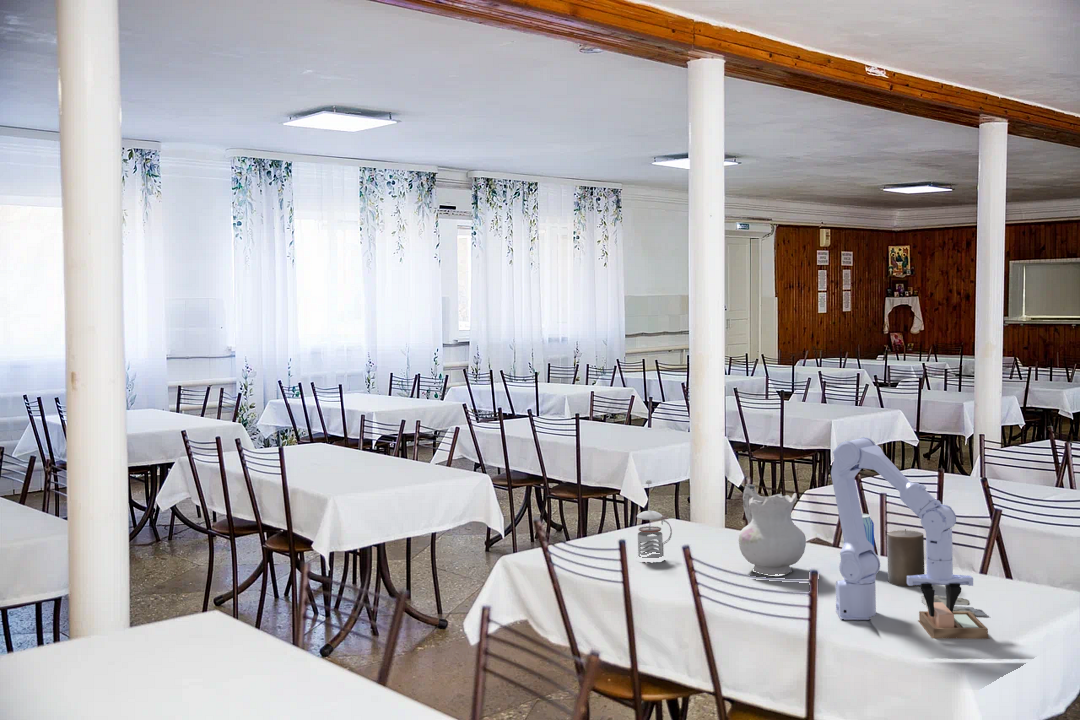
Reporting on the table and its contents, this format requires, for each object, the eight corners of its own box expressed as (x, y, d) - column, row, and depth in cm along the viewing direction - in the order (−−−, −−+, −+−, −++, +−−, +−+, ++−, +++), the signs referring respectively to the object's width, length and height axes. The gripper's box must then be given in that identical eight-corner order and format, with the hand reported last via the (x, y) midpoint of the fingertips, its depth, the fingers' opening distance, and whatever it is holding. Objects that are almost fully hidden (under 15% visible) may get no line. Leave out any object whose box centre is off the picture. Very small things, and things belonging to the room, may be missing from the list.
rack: (932, 641, 234) (931, 628, 234) (917, 623, 248) (917, 611, 248) (989, 642, 233) (989, 628, 233) (972, 623, 246) (972, 611, 246)
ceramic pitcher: (720, 573, 305) (714, 491, 302) (760, 556, 317) (754, 478, 315) (781, 587, 288) (776, 500, 286) (820, 568, 301) (815, 485, 299)
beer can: (880, 570, 298) (879, 516, 297) (857, 574, 295) (856, 519, 294) (861, 564, 306) (860, 511, 305) (838, 568, 303) (837, 514, 302)
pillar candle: (930, 586, 280) (929, 531, 280) (894, 587, 280) (893, 532, 280) (916, 577, 290) (916, 524, 289) (882, 578, 290) (881, 525, 289)
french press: (634, 556, 326) (631, 477, 325) (670, 555, 325) (668, 476, 324) (635, 563, 316) (633, 482, 315) (673, 562, 315) (671, 481, 314)
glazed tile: (963, 635, 235) (963, 627, 235) (951, 622, 245) (951, 614, 245) (978, 636, 235) (978, 627, 235) (966, 622, 245) (966, 614, 245)
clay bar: (938, 636, 236) (938, 614, 236) (927, 622, 246) (927, 602, 245) (954, 636, 235) (954, 614, 235) (942, 623, 245) (942, 602, 245)
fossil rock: (918, 601, 269) (918, 592, 269) (979, 602, 266) (979, 593, 266) (930, 620, 251) (930, 611, 251) (995, 622, 248) (995, 613, 248)
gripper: (911, 562, 237) (912, 620, 237) (976, 562, 235) (977, 620, 236) (904, 555, 244) (905, 611, 244) (967, 554, 242) (968, 611, 243)
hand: (940, 615), depth 241 cm, fingers closed on clay bar, 3 cm apart
